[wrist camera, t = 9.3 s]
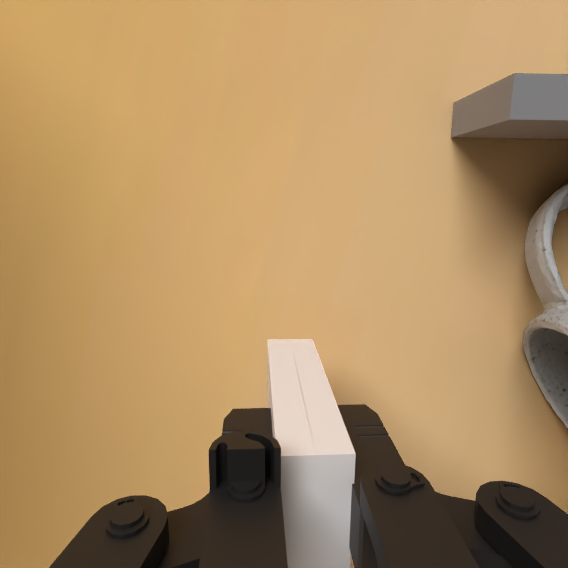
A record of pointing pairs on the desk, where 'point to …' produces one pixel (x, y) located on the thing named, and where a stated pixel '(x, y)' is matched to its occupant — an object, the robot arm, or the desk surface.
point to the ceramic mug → (548, 308)
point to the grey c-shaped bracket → (515, 109)
